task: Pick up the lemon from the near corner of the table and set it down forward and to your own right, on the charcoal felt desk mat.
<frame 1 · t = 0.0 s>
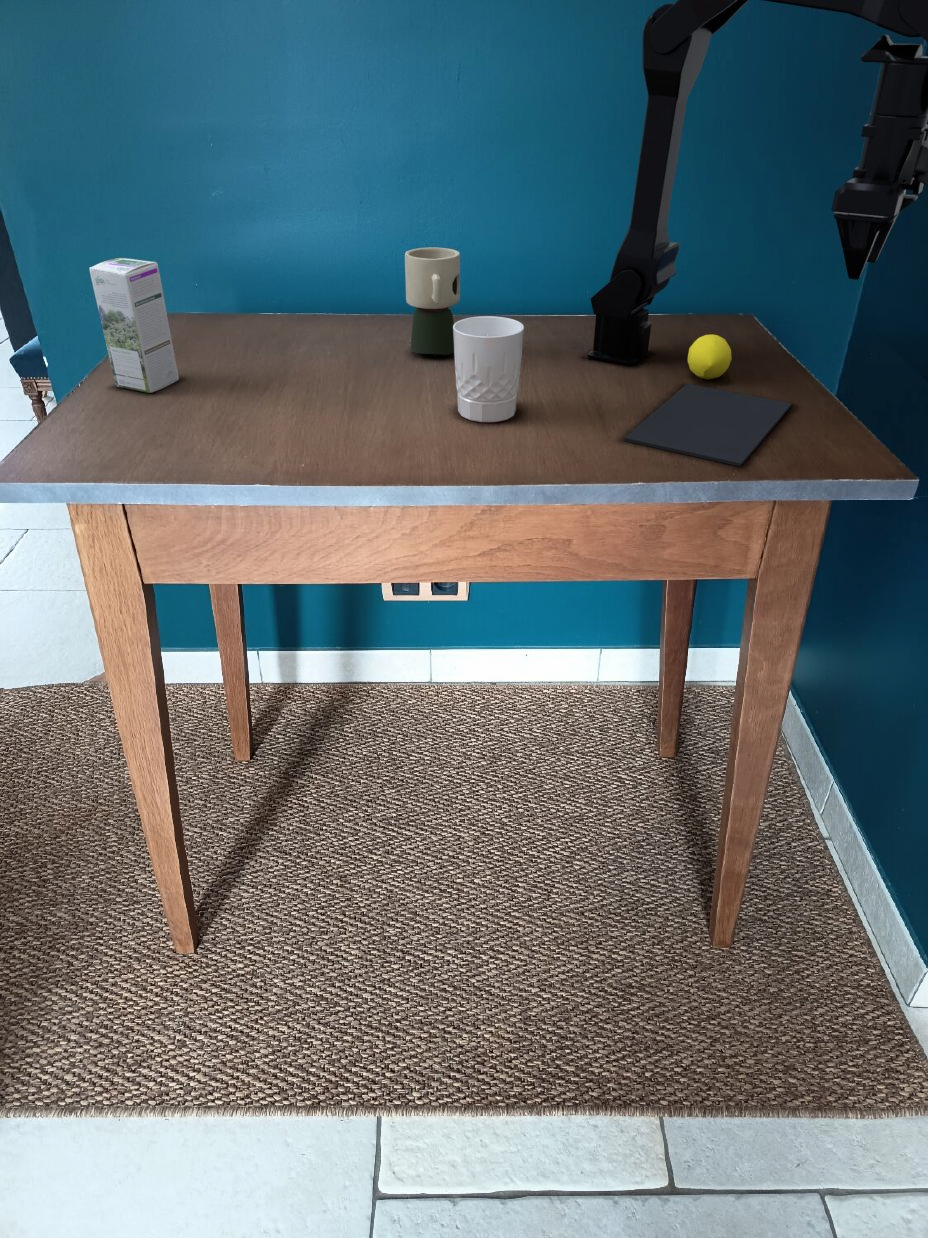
hand: (862, 270, 104), 15 cm above the table, tool pointing down, fingers open, 9 cm apart
syrup box: (147, 385, 115), on the table
character mug: (433, 354, 126), on the table
desk mat: (711, 422, 105), on the table
white cup: (487, 413, 108), on the table
lemon: (705, 378, 118), on the table
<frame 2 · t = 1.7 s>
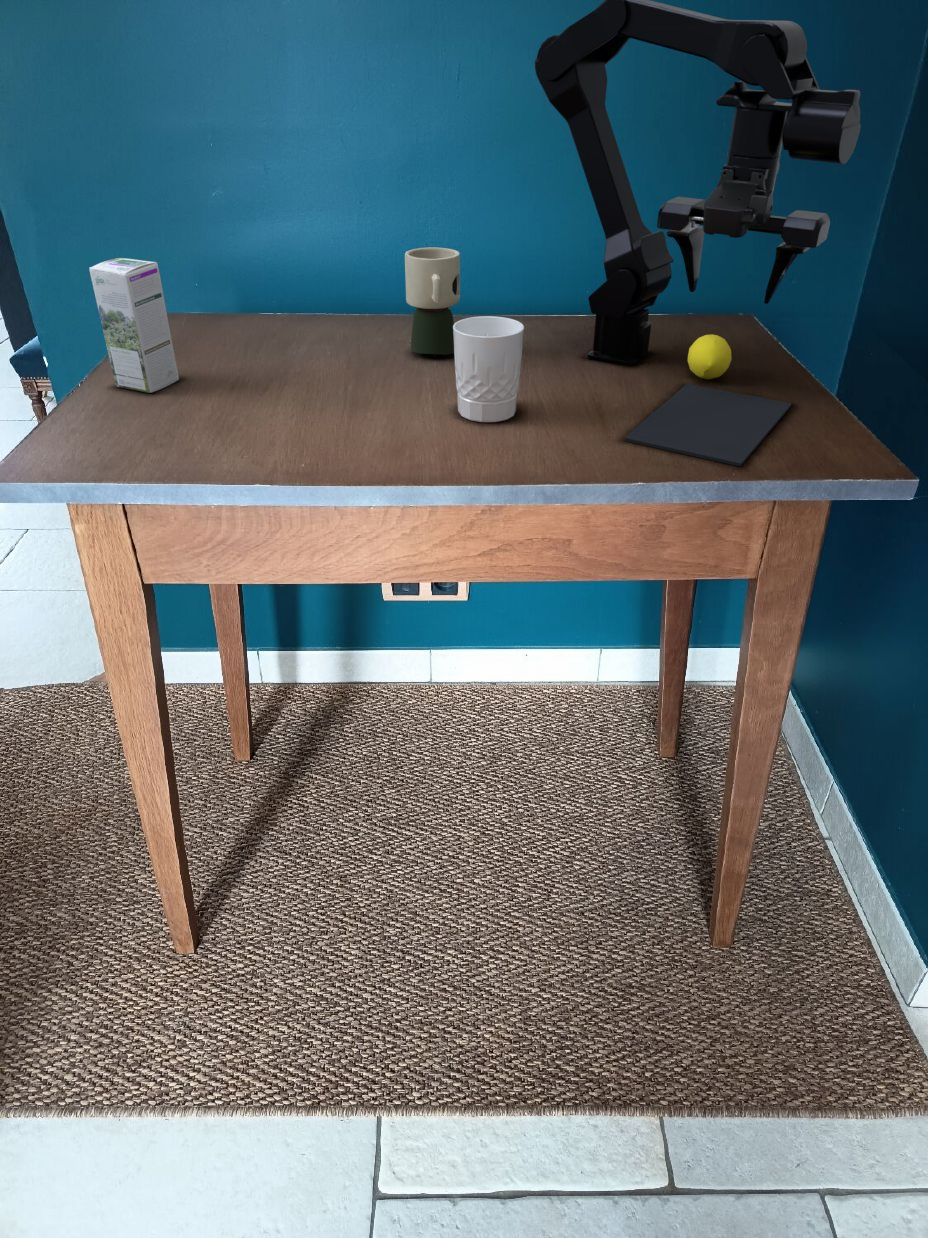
hand: (728, 296, 112), 10 cm above the table, tool pointing down, fingers open, 9 cm apart
nothing on the table moved.
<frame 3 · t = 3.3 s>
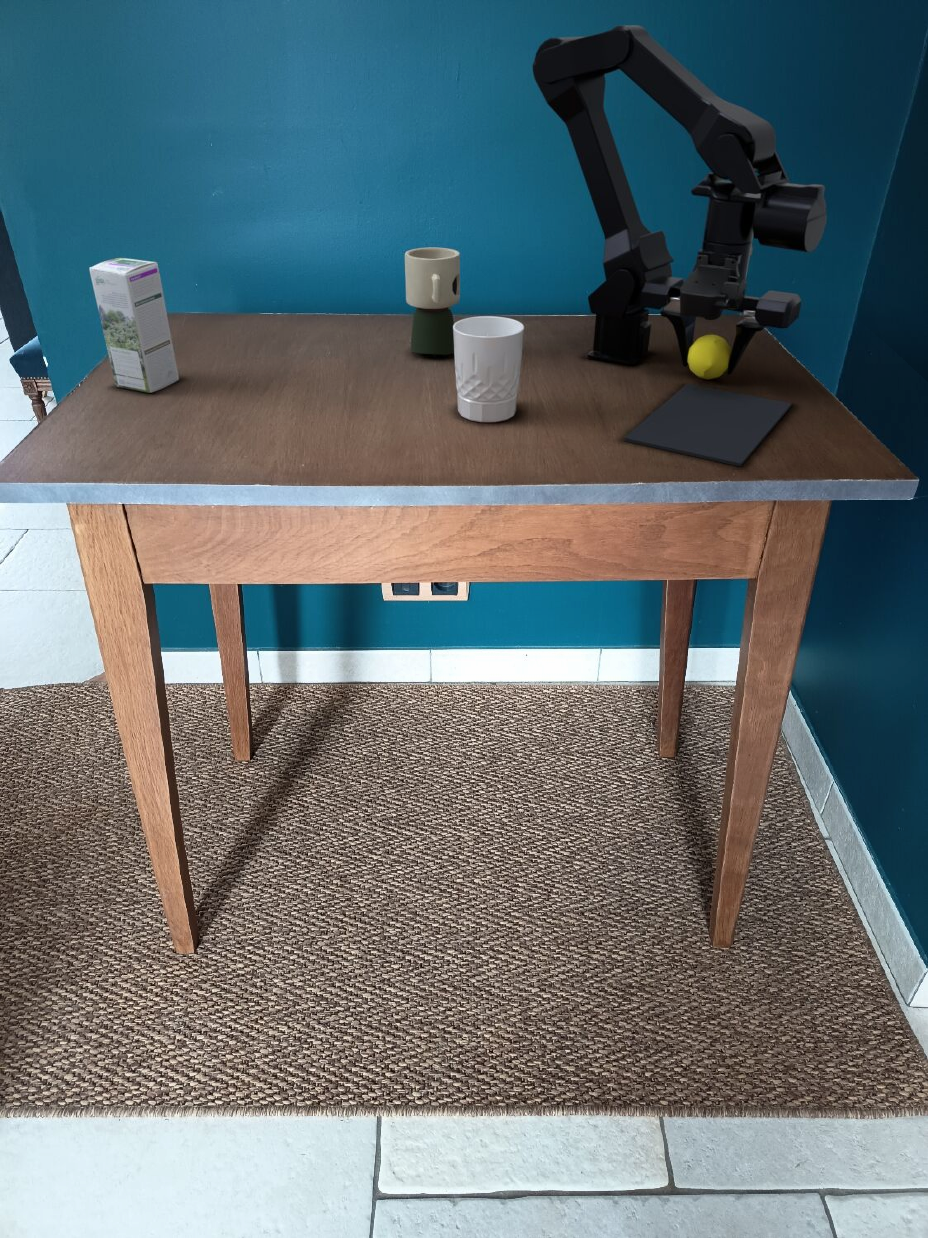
hand: (707, 369, 117), 1 cm above the table, tool pointing down, fingers closed on lemon, 5 cm apart
lemon: (705, 378, 118), on the table, touching gripper
everything else where it was.
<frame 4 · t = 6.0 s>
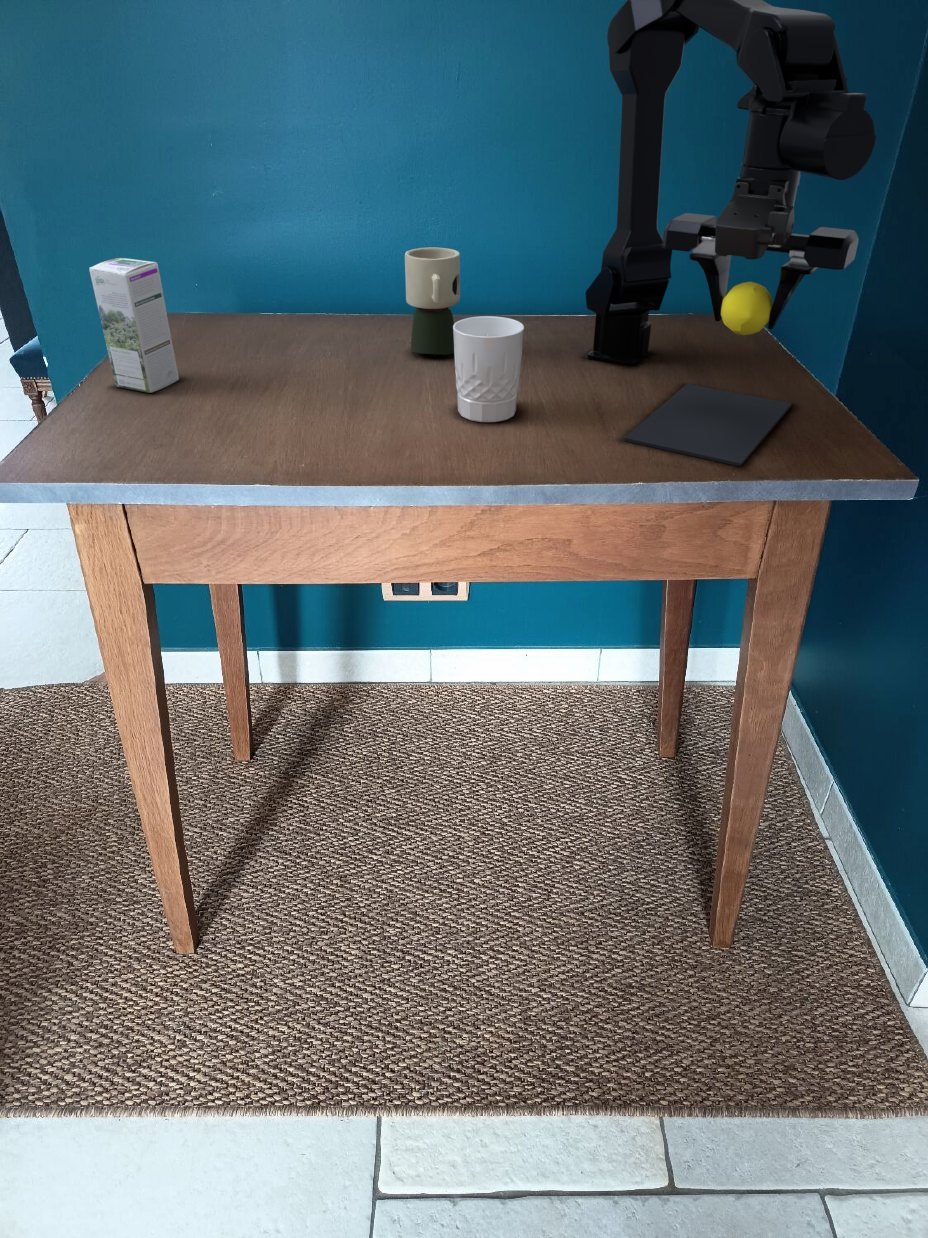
hand: (743, 324, 100), 11 cm above the table, tool pointing down, fingers closed on lemon, 5 cm apart
lemon: (742, 335, 100), point 10 cm above the table, touching gripper
everything else where it was.
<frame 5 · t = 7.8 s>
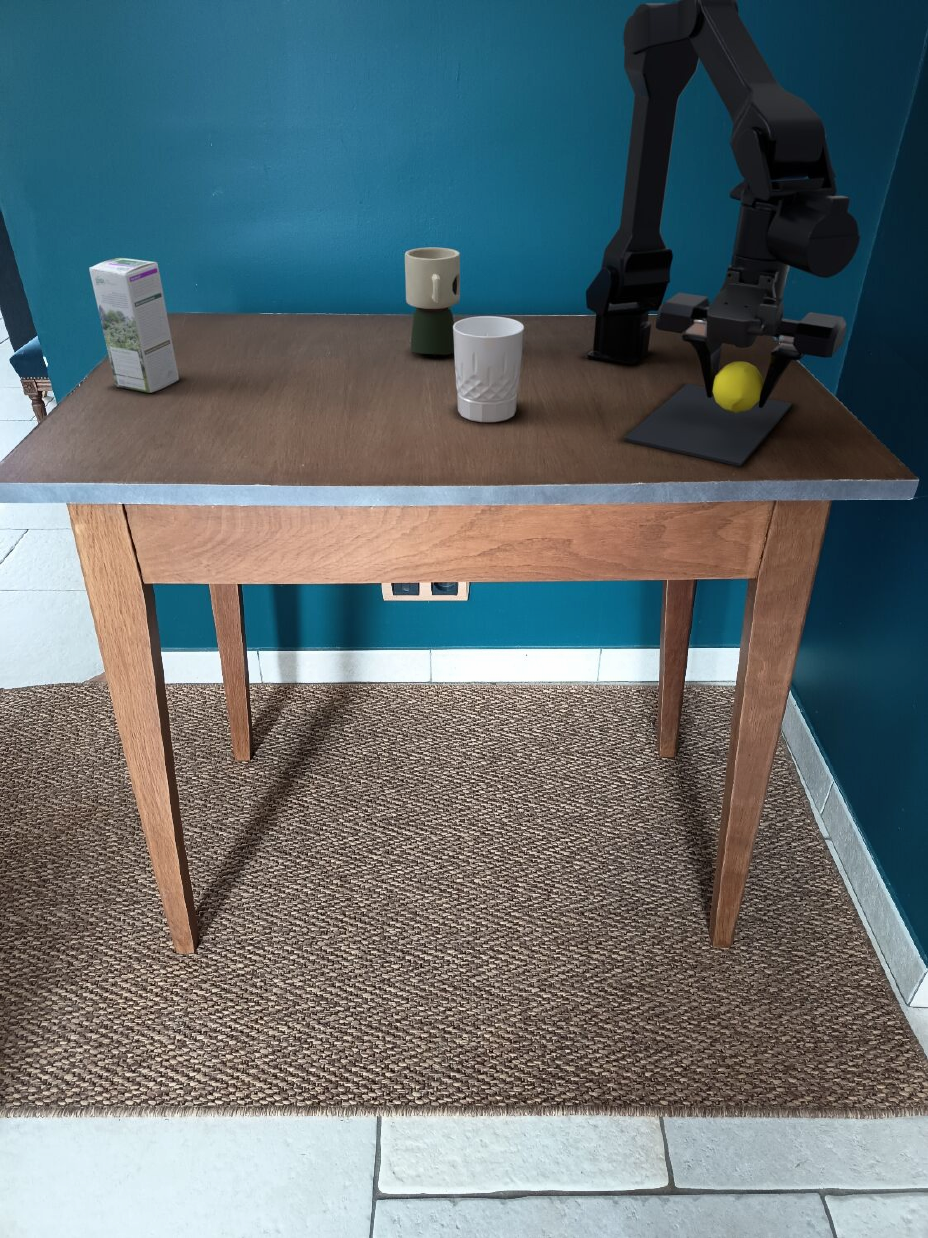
hand: (735, 401, 102), 3 cm above the table, tool pointing down, fingers closed on lemon, 5 cm apart
lemon: (733, 411, 103), point 2 cm above the table, touching gripper
everything else where it was.
when the fingers open (1 cm above the table, at t = 8.8 s): lemon stays where it is, resting on desk mat.
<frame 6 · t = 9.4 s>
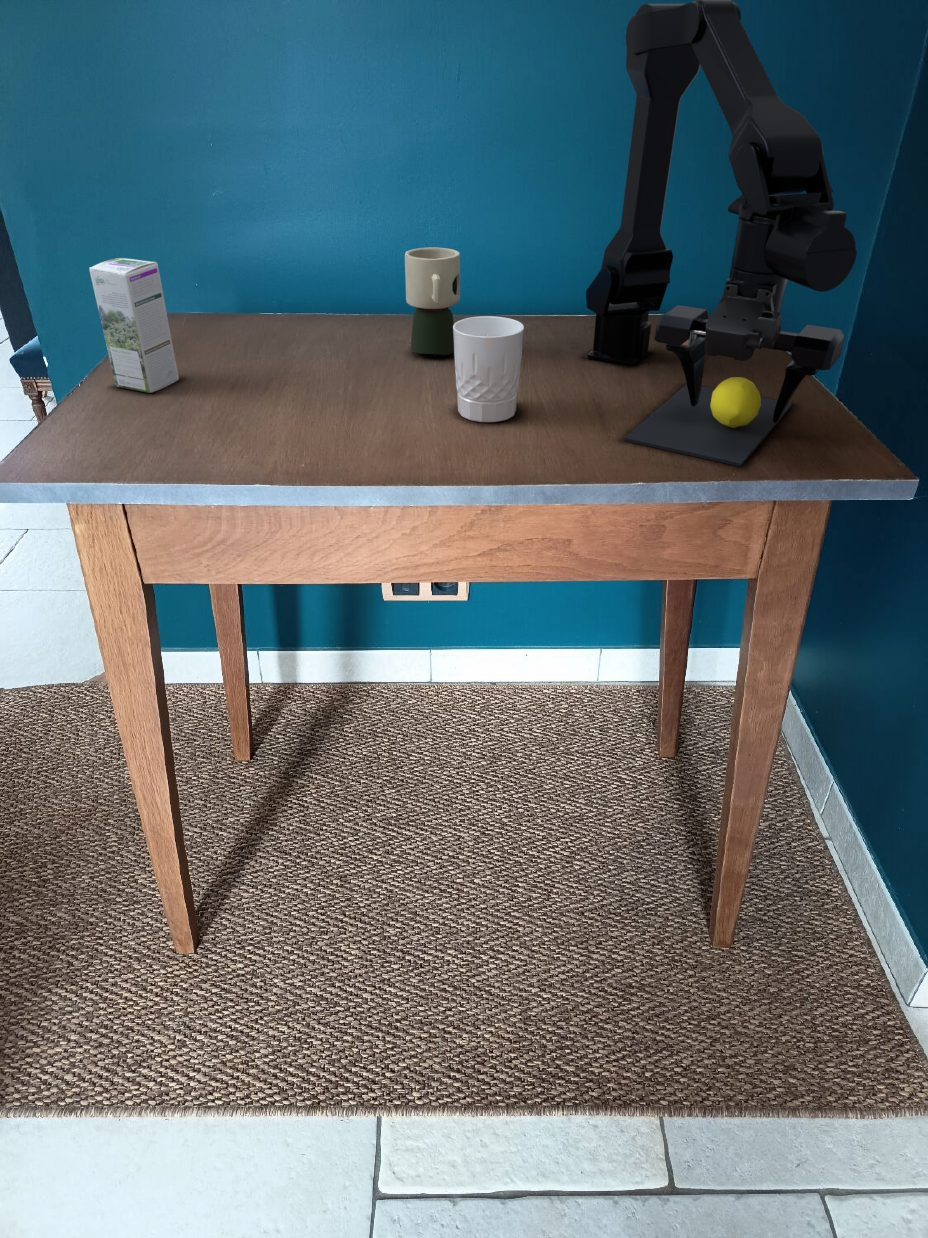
hand: (734, 413, 103), 2 cm above the table, tool pointing down, fingers open, 9 cm apart
lemon: (731, 426, 104), resting on desk mat
everything else where it was.
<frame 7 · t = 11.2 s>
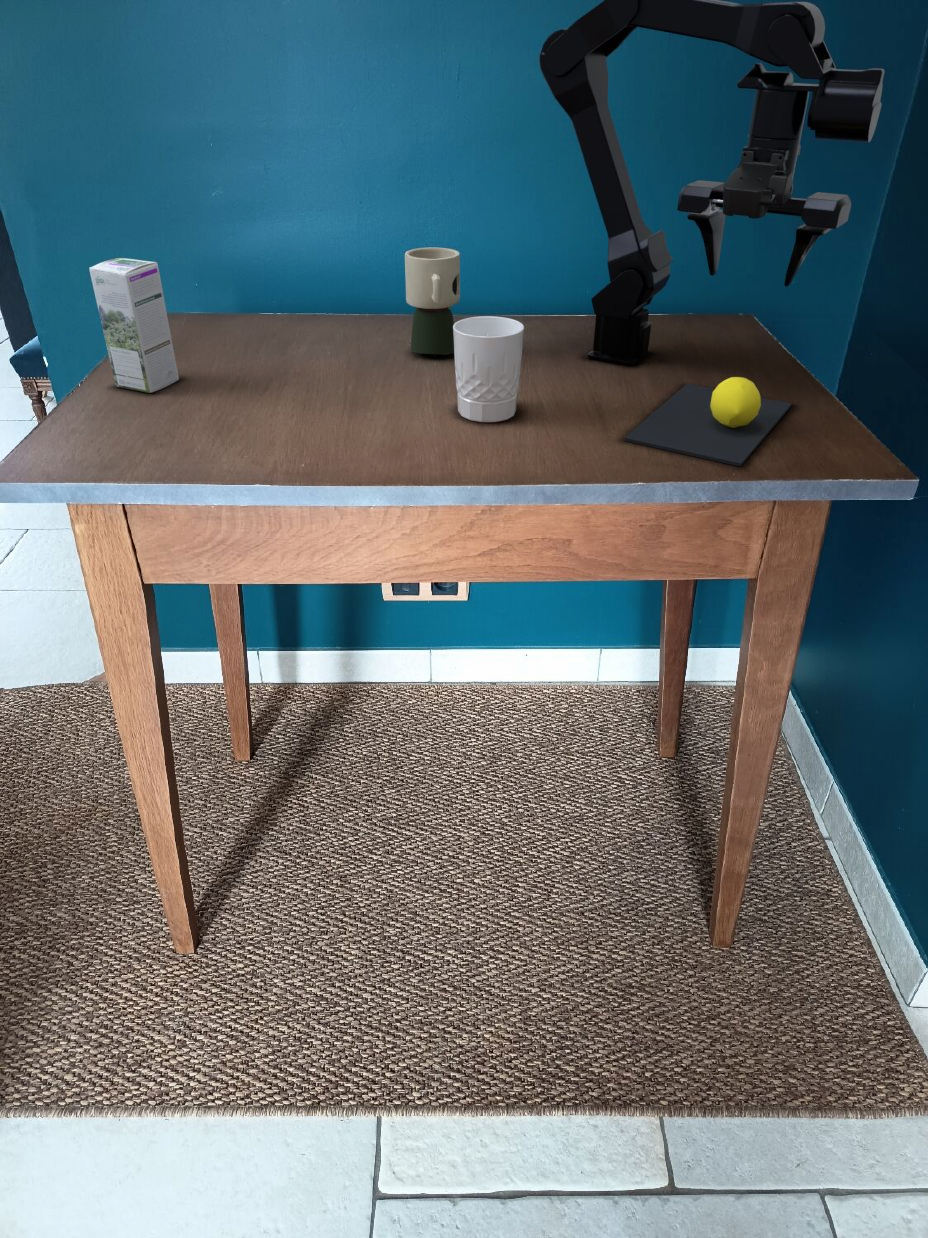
hand: (749, 280, 112), 12 cm above the table, tool pointing down, fingers open, 9 cm apart
nothing on the table moved.
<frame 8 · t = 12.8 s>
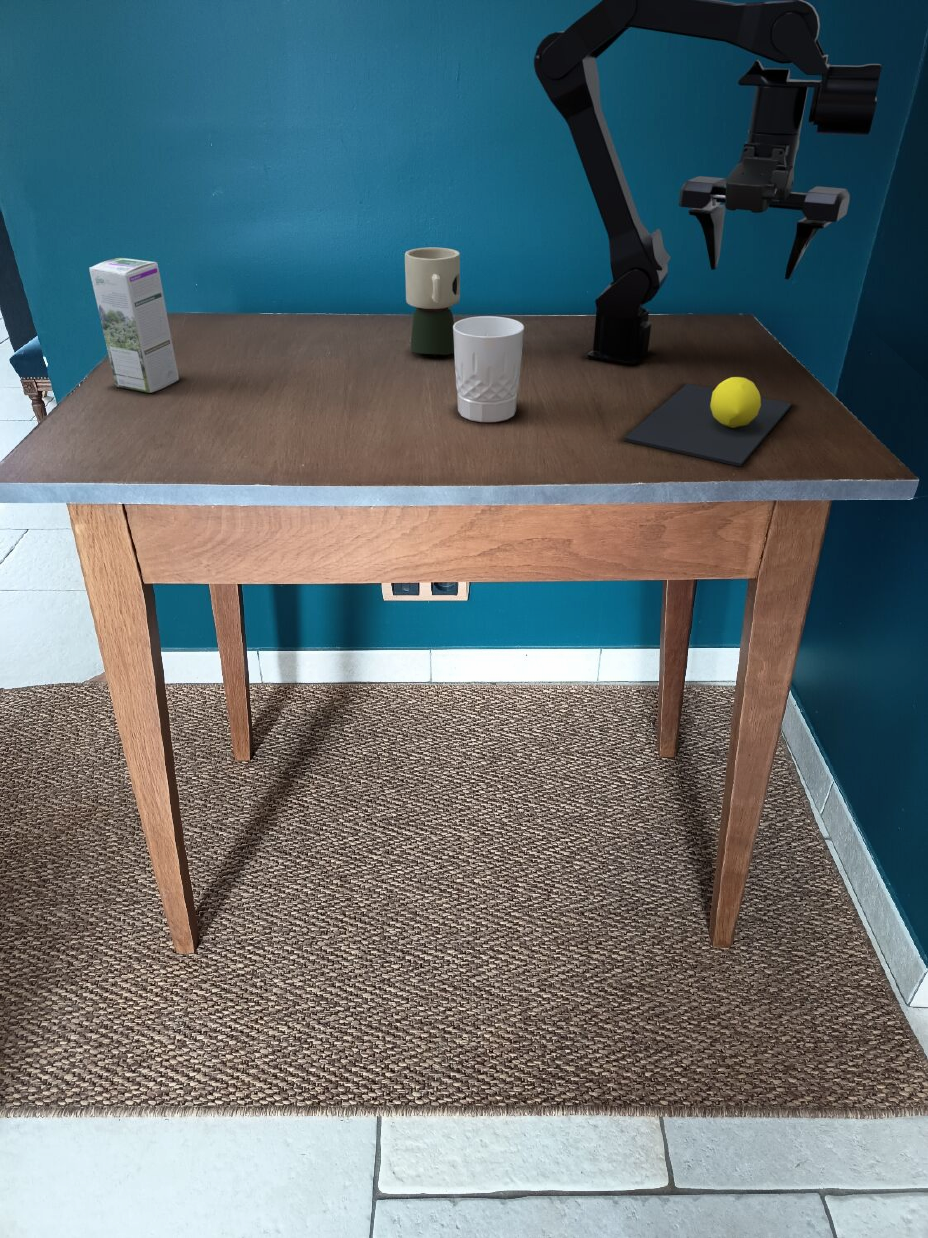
hand: (749, 273, 114), 12 cm above the table, tool pointing down, fingers open, 9 cm apart
nothing on the table moved.
at the end: lemon inside the target area (0.9 cm from its centre), resting on desk mat; lemon touching desk mat; the gripper is holding nothing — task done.
